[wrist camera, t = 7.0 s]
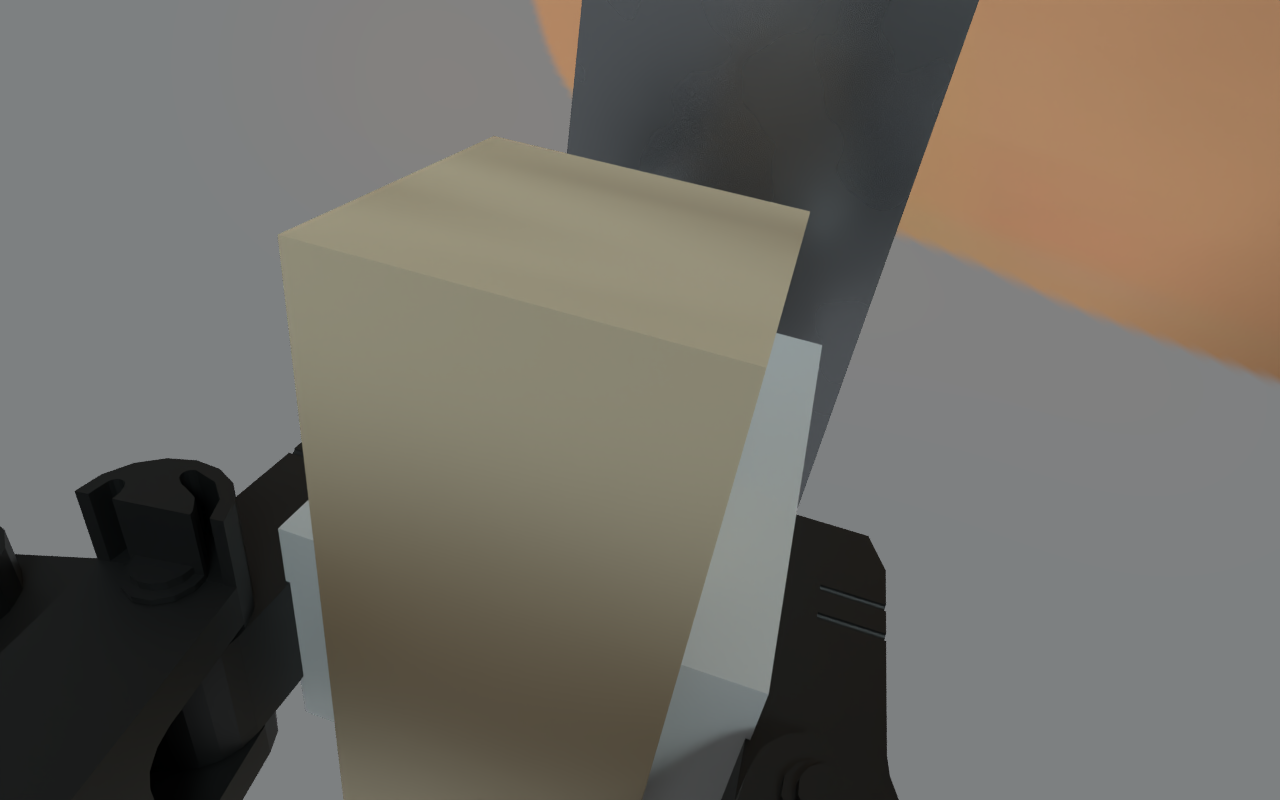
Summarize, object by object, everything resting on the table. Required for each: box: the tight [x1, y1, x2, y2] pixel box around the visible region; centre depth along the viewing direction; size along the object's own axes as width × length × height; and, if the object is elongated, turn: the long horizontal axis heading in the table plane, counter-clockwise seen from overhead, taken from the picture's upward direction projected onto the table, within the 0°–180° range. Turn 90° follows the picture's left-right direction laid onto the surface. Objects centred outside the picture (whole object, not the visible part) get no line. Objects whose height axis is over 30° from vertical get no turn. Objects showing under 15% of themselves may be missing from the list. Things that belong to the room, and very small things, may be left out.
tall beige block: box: [278, 0, 979, 800], centre depth 10 cm, size 15×6×10 cm, turn 171°
